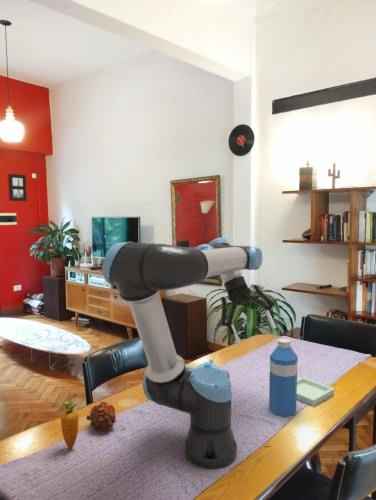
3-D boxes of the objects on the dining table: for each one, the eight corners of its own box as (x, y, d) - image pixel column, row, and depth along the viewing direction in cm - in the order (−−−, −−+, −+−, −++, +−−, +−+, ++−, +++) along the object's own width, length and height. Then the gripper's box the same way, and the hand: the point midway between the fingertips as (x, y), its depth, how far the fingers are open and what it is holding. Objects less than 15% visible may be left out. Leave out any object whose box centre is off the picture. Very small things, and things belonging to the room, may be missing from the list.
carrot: (72, 441, 119) (71, 394, 118) (82, 448, 116) (81, 399, 114) (58, 449, 115) (56, 400, 114) (68, 456, 112) (66, 405, 111)
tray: (313, 407, 140) (313, 400, 140) (280, 393, 150) (281, 387, 150) (334, 395, 149) (334, 388, 149) (301, 382, 160) (302, 377, 159)
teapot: (176, 389, 154) (176, 362, 153) (211, 378, 164) (211, 352, 163) (200, 405, 141) (201, 375, 140) (236, 392, 152) (236, 364, 150)
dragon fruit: (107, 442, 122) (95, 429, 132) (126, 419, 125) (114, 409, 136) (89, 424, 119) (79, 412, 130) (110, 401, 123) (98, 392, 133)
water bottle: (293, 404, 142) (295, 336, 140) (298, 417, 133) (300, 345, 130) (267, 402, 143) (268, 335, 141) (270, 416, 134) (271, 344, 131)
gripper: (261, 269, 147) (285, 323, 142) (199, 293, 143) (222, 349, 138) (266, 264, 139) (292, 321, 135) (201, 289, 136) (225, 348, 131)
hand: (256, 335), depth 137 cm, fingers open, 13 cm apart
